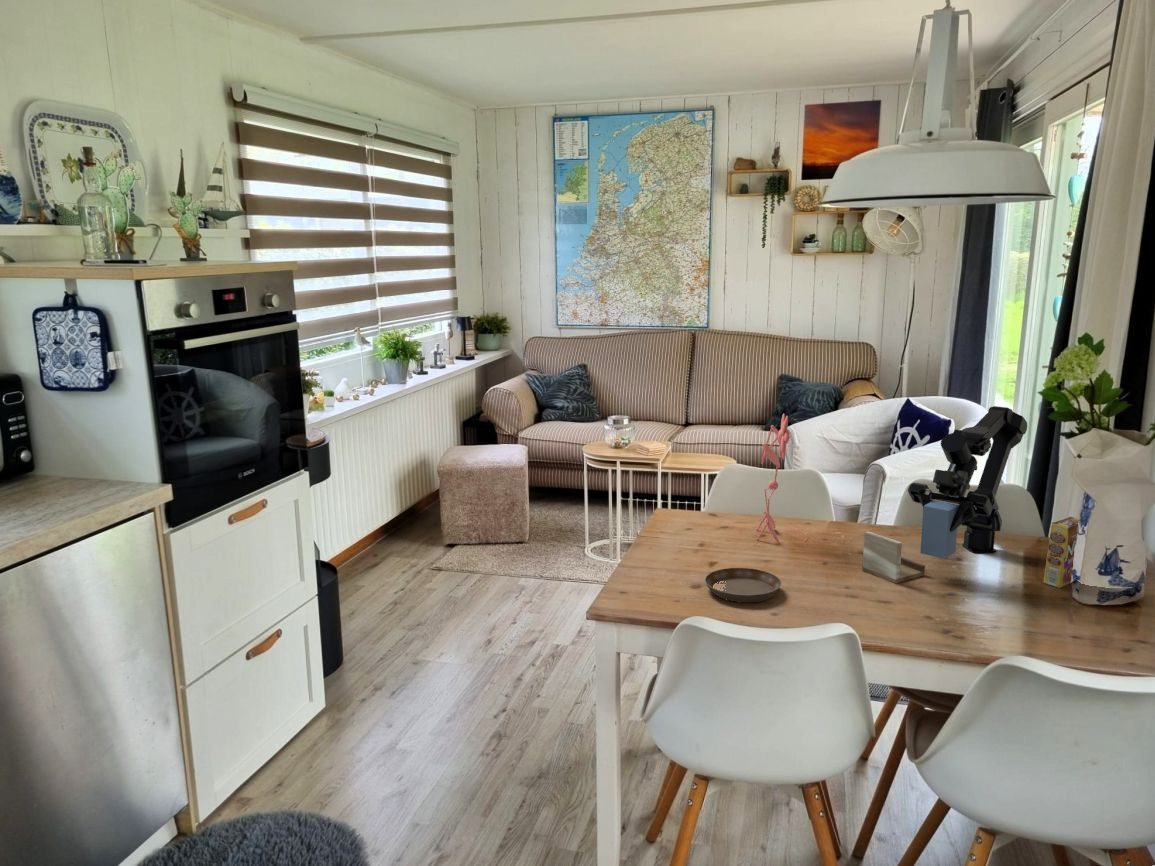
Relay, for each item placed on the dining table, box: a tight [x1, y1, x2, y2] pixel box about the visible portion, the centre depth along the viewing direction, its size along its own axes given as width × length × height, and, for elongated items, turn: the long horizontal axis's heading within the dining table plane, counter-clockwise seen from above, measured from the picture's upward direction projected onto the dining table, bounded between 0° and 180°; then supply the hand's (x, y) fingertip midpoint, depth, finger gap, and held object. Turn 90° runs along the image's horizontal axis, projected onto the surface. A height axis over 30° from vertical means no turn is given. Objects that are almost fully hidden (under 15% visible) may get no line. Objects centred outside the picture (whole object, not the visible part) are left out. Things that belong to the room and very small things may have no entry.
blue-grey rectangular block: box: [919, 500, 959, 560], centre depth 203 cm, size 7×6×12 cm
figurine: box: [753, 413, 808, 548], centre depth 232 cm, size 15×26×35 cm, turn 168°
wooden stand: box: [861, 531, 926, 584], centre depth 207 cm, size 10×10×10 cm
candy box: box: [1043, 516, 1080, 589], centre depth 199 cm, size 9×4×15 cm, turn 123°
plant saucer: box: [704, 567, 782, 603], centre depth 197 cm, size 18×18×3 cm
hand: (937, 528), depth 201 cm, fingers closed on blue-grey rectangular block, 6 cm apart
